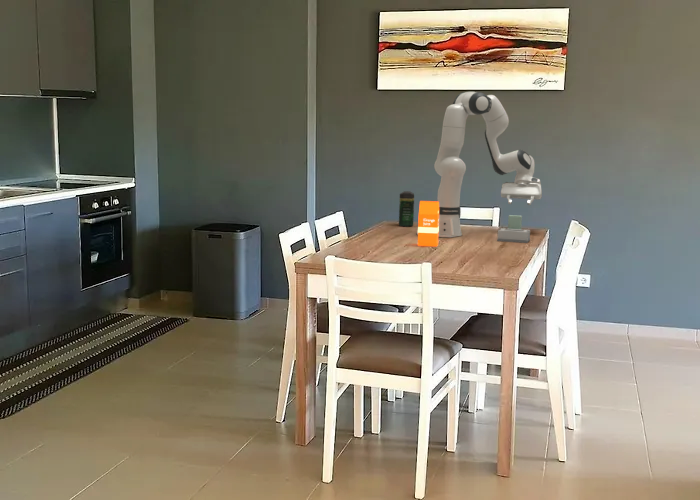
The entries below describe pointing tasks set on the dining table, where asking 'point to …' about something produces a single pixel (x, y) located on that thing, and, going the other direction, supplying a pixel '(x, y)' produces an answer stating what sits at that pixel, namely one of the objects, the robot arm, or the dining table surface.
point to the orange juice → (428, 223)
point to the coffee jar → (406, 209)
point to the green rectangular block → (514, 222)
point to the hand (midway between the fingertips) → (519, 204)
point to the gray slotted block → (513, 235)
